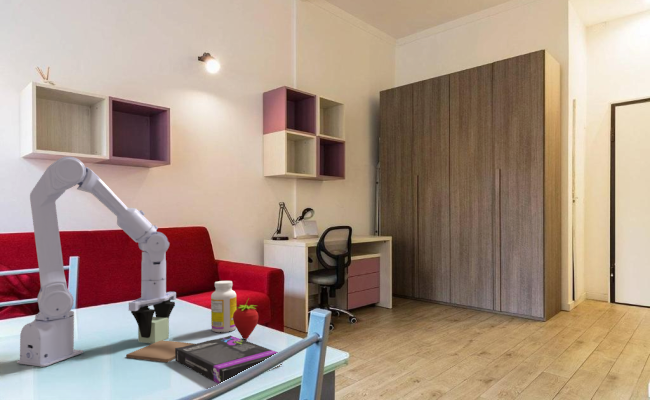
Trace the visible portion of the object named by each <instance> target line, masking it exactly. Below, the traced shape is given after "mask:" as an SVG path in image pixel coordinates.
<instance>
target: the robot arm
mask: <svg viewBox="0 0 650 400" xmlns="http://www.w3.org/2000/svg"><path fill="white" fill-rule="evenodd" d="M76 185H78V187H77V188H76V190H78V191H82V192H84V193H85V192H86V193H89V194H91V195H92V196H94V197H95V198H96V199H97V200H98V201H99V202H100V203H101V204H103V206H105V207H106V208H107V209H108V210H109V211H111V213H112V214H113V215H114V216H116V225H117V227H119V228H120V229H121V230H123V232H124V233H125V234H126V235H128V236H129V238H131V239H132V240H133V241H134V242H135V243H138V244H137V245H138V248H139V250H141V279H140V280H141V282H140V283H141V288H140V290H141V291H140V293H141V295H140V296H141V297H139V298H137V299H135V300H132V301H129V302H128V311H129V312H130V314H131V315H132V316H133V318H134V320H135V321H136V323H137V325H138V326H139V330H140V333H141V337H144V338H149V337H150V334H151V323H152V318H153V317H154V315H155V317H163V318H169V319H170V316H171V314H172V312H173V309H174V308H175V306H176V302H175V301H174V300H176V299H177V292H176V291H167V260H166V256H167V255H166V252H167V251H168V249H169V247H170V242H169V239H168V237H167V236H166V234H164V233H163V232H161V231H157V230H158V229H159V227H158V226H157V225H156V224H154V225H153V224H152V223H151V221H150V220H148V218H147V217H145V215H146V213H145V212H144V211H143V210H142V209H141V210H138V208H136V207H128V206H127V205H126V204H125V203H124V202H123V201H122V199H120V197H119V196H117V195H116V193H115V192H113V190H112V189H111V188H110V187H109V186H108V185H107V184H106V183H105V181H103V180H102V179H101V178H100V176H99V175H98V174H96V172H94V171H93V170H92V169H91V168H90V167H88V166H85V164H84V163H83V161H81V160H80V159H79V158H77V157H73V156H63V157H60V158H58V159H57V160H56V161H54V162H53V163H52V164H50V165H49V166H48V167H46V169H45V171H44V172H43V174H42V175H41V176H40V178H39V179H38V181H37V183H36V184H35V185H34V187H33V188H32V190H31V191H30V194H29V200H30V208H31V216H32V225H33V233H34V242H35V248H36V255H37V262H38V263H37V264H38V272H39V273H38V274H39V281H40V289H39V292H38V294H37V297H36V298H37V299H36V300H37V304H38V309H39V312H38V313H37V314H36V315H35V316H34V318H35V319H34V320H33V321H31V322H27V323H26V324H25V325H24V326H23V327H22V329H21V331H20V335H19V336H20V337H19V338H20V339H19V360H16V363H17V364H21V365H28V366H34V367H43V368H44V367H48V366H50V365H53V364H56V363H58V362H59V363H60V362H62V361H64V360H67V359H69V358H70V359H71V358H73V357H76V356H77V355H80V354H83V353H84V351H83V350H81V349H74V346H75V345H74V343H75V342H74V341H75V339H74V338H75V336H74V335H75V327H74V326H75V324H74V323H75V312H74V310H72V308H73V307H74V301H75V299H74V295H73V294H72V293H71V292H70V289H68V285H67V281H66V275H65V270H64V260H63V253H62V252H63V251H62V245H61V237H60V236H61V235H60V228H59V222H58V213H57V206H56V201H57V200H58V199H59V198H60V197H61V196H62V195H63V194H65V192H66V191H67V190H70V189H71V188H72V187H73V188H74V187H75V186H76ZM151 306H152V307H153V309H152V308H150V307H151Z"/></svg>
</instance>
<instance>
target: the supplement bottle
mask: <svg viewBox="0 0 650 400" xmlns="http://www.w3.org/2000/svg"><path fill="white" fill-rule="evenodd" d="M233 285H234V284H233V281H232V280H219V281H215V282H214V287H215V290H214V291H213V292H212V293H211V295H210V305H211V306H210V310H211V311H210V312H211V313H210V314H211V319H210V320H211V321H210V322H211V323H210V324H211V330H212V331H213V332H215V333H220V332H221V333H228V332H229V331H230V332H232V331H235V330H237V328H236V326H235V324H234V321H233V314H234V312H235V311H236V310H237V308H236V307H237V293H236V291H235V290H233Z"/></svg>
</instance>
